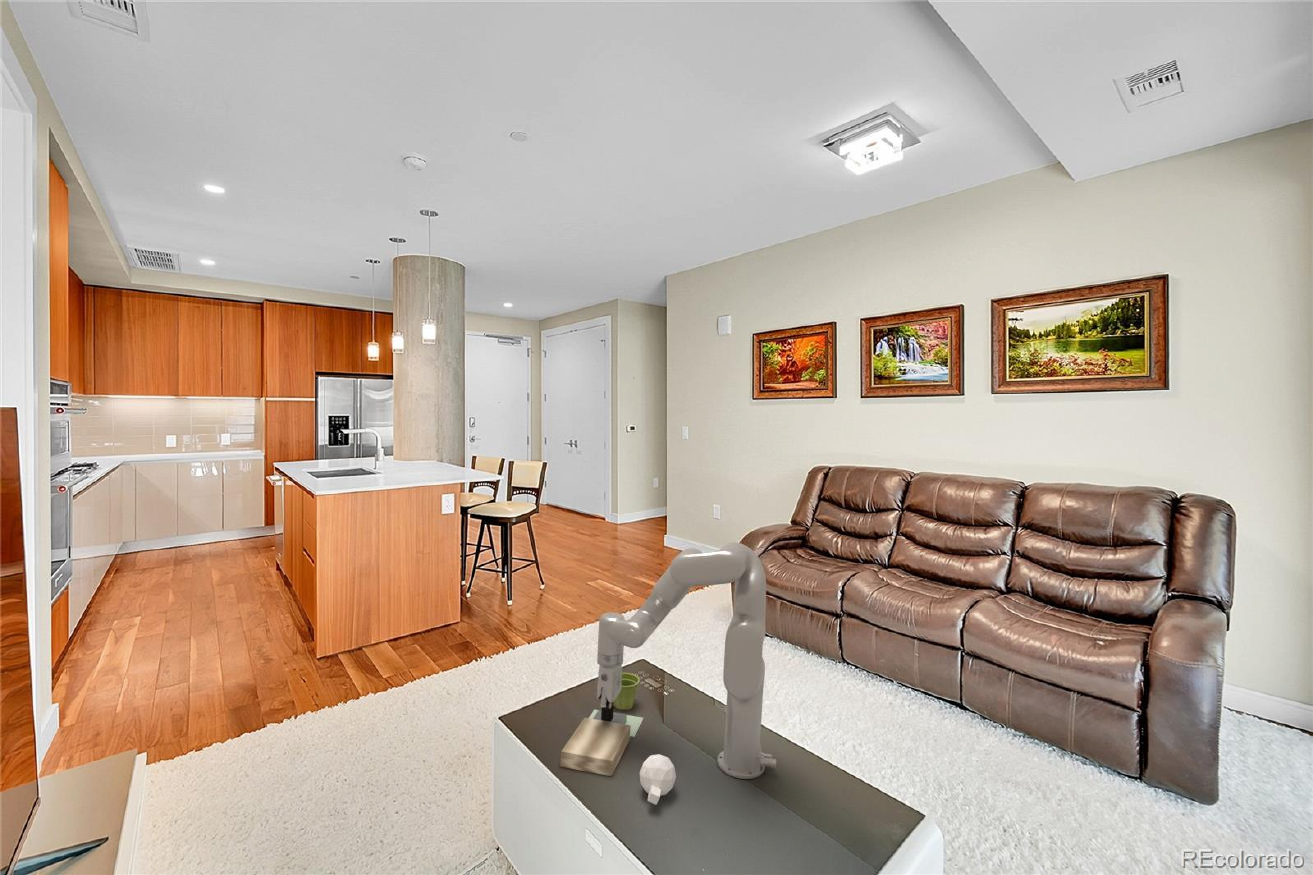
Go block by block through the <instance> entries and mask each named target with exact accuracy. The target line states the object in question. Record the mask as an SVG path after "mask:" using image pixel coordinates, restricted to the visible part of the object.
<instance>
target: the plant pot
mask: <svg viewBox="0 0 1313 875" xmlns="http://www.w3.org/2000/svg"><path fill="white" fill-rule="evenodd" d="M640 680H641V679H640V678H639V676H638V675H636V674H633V673H629V672H622V688H621V691H620V693H619V694H618V696H617V698H616V699H615V701H614V705H613V706H614V709H617V710H620V711H623V710H626V711H628V710H631V709H632V708H633V707H634V702H635V697H636V692H637V688H638V685H639V684H640Z"/></svg>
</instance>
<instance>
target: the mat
mask: <svg viewBox="0 0 1313 875" xmlns="http://www.w3.org/2000/svg"><path fill="white" fill-rule="evenodd" d="M598 710H599V709H593V711H592V713H591V714H590V716H589V717H588V718H590V719H593V718H594V716H595V715H596V713H597V712H598ZM643 721H644V717H641V716H637V715H636V716H635V715H629V714H627V720H626V723H625V725H631V728H630V738H635V737H636V735H637V733H638V732H639V731H638V730H639V729H640V726H641V725H642V722H643Z"/></svg>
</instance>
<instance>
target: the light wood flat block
mask: <svg viewBox="0 0 1313 875" xmlns="http://www.w3.org/2000/svg"><path fill="white" fill-rule="evenodd" d="M630 728H631V725H625V724H619V723H613V722H608V721H602V720H596V719H590V718H589V717H584V718H583V719H582V720H581V722H580V724H579V725H578V727H577V728H576V729H575V731H574V732H573V734H572V735H571V737H570V738H569V739H568V741H567V743H566V744H565V745H564V747H563V748H562V750H561V751H560V767H562V768H567V769H572V770H577V771H581V772H582V771H583V772H588V773H593V774H599V775H602V776H603V775H604V776H608V777H612V776H613V774H614V772H615V770H616V768H617V766H618V764H619V762H620V760H621V758H622V756H623V754H624V752H625V750H626V748H627V746H628V744H629V742H630V740H631V737H630Z"/></svg>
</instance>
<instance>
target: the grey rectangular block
mask: <svg viewBox="0 0 1313 875" xmlns="http://www.w3.org/2000/svg"><path fill="white" fill-rule="evenodd" d="M597 710H598V712H597V713H596V715H595V716H594V718H593V719H596V720H601V710H602V709H597ZM627 715H628V714H626V713H621V712H615V711H614V712H613V719H612V721H611V722H613V723H619V724H625V723H626V720H627ZM602 721H603V720H602Z"/></svg>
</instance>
